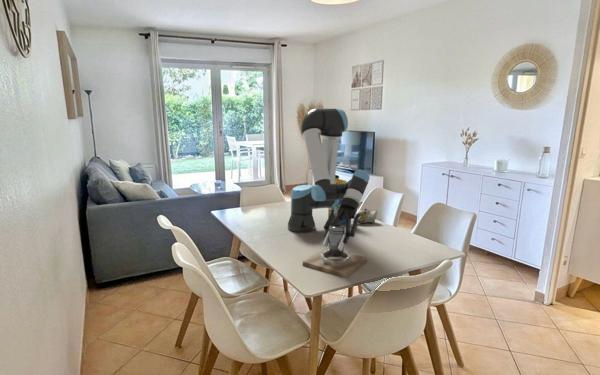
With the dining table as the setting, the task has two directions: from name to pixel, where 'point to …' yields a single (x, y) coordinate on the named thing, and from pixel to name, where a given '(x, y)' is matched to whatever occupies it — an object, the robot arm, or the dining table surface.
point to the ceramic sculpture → (367, 216)
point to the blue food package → (338, 181)
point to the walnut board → (339, 269)
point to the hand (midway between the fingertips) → (332, 247)
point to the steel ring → (335, 262)
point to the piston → (335, 240)
